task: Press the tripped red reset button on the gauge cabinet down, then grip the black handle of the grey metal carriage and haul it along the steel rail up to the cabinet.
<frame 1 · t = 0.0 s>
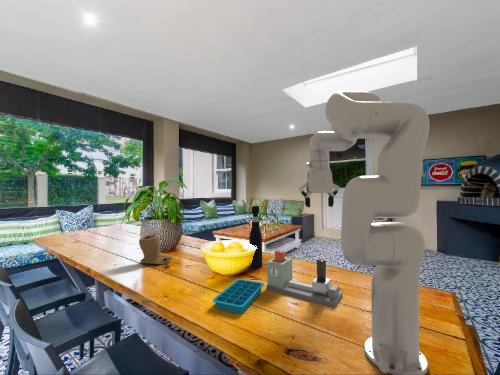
hand: (319, 206, 101), 31 cm above the table, tool pointing down, fingers open, 9 cm apart
brown boot: (154, 263, 128), on the table
reset button: (279, 258, 97), point 11 cm above the table, slide at 0.0 cm
carriage: (321, 275, 87), point 8 cm above the table, slide at -7.0 cm
wine bottle: (256, 266, 121), on the table
ice cube tray: (240, 299, 87), on the table
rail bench: (303, 292, 91), on the table
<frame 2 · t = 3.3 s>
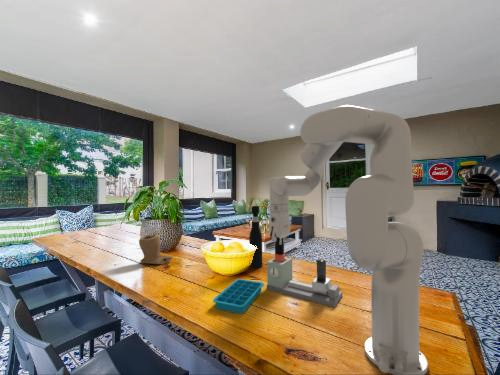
hand: (279, 253, 97), 13 cm above the table, tool pointing down, fingers closed
reset button: (279, 261, 97), point 10 cm above the table, slide at 1.0 cm, touching gripper
everything else where it was.
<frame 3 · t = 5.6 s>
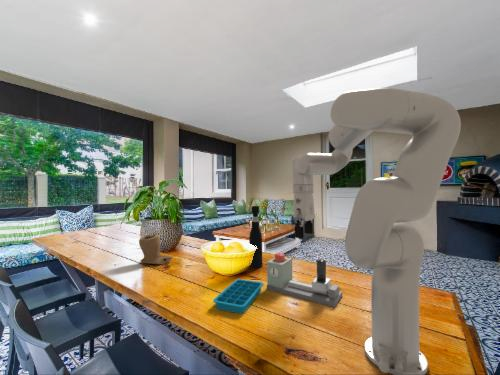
hand: (304, 235, 91), 22 cm above the table, tool pointing down, fingers open, 9 cm apart
reset button: (279, 262, 97), point 10 cm above the table, slide at 1.4 cm
everything else where it was.
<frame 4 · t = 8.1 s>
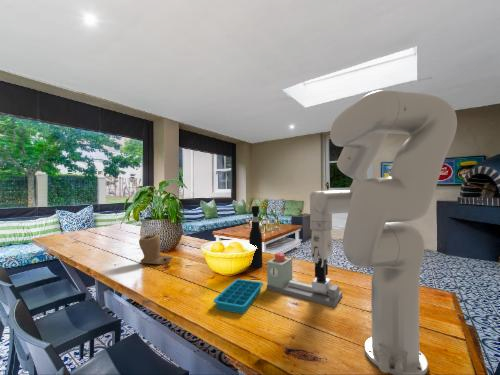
hand: (321, 275, 87), 8 cm above the table, tool pointing down, fingers closed on carriage, 3 cm apart
carriage: (321, 275, 87), point 8 cm above the table, slide at -7.0 cm, touching gripper
everything else where it was.
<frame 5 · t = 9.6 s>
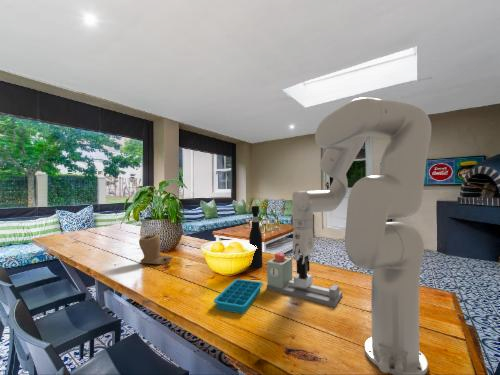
hand: (303, 271, 91), 8 cm above the table, tool pointing down, fingers closed on carriage, 3 cm apart
carriage: (303, 272, 91), point 8 cm above the table, slide at -0.1 cm, touching gripper
everything else where it was.
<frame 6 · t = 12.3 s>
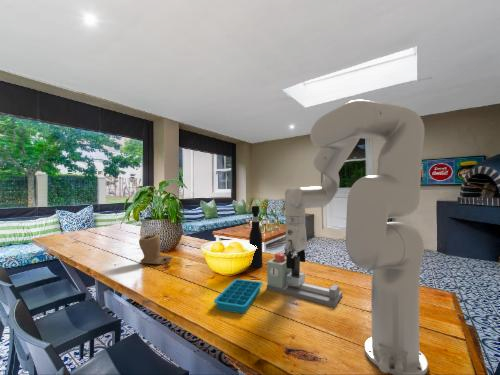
hand: (296, 264, 93), 10 cm above the table, tool pointing down, fingers open, 9 cm apart
carriage: (295, 270, 93), point 8 cm above the table, slide at 3.0 cm
everything else where it was.
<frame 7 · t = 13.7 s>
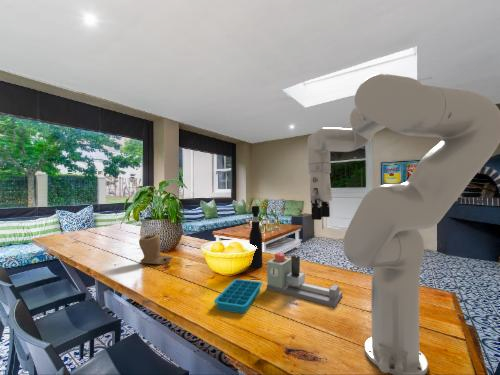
hand: (321, 218, 85), 29 cm above the table, tool pointing down, fingers open, 9 cm apart
nothing on the table moved.
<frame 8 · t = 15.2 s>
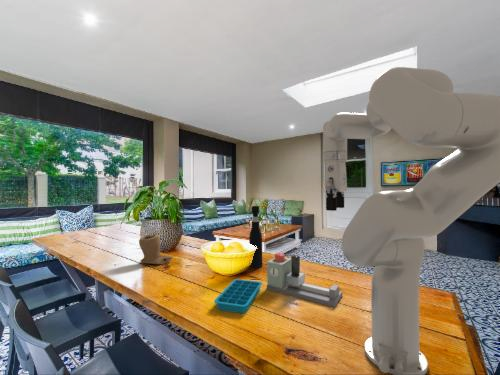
hand: (335, 209, 81), 32 cm above the table, tool pointing down, fingers open, 9 cm apart
nothing on the table moved.
at the end: reset button slide at 1.4 cm; carriage slide at 3.0 cm; the gripper is holding nothing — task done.
